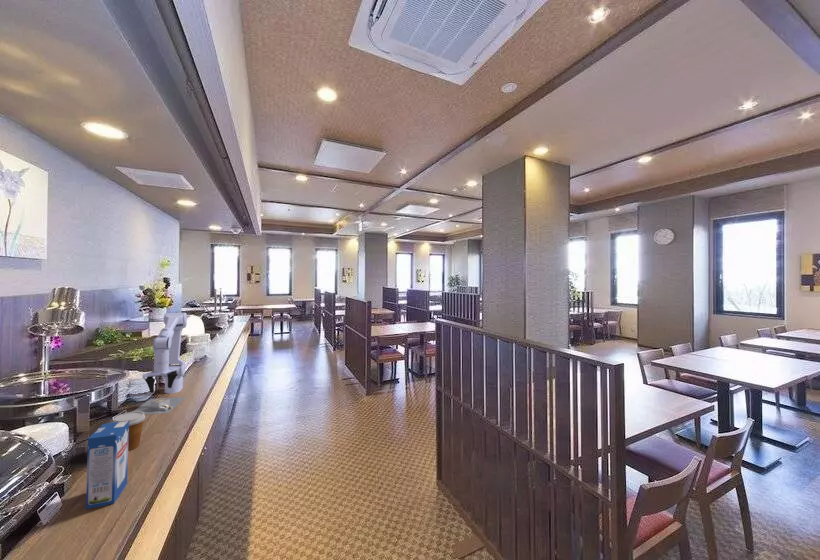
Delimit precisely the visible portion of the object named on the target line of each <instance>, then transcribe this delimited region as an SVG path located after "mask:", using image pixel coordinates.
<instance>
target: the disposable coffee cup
mask: <svg viewBox="0 0 820 560" xmlns="http://www.w3.org/2000/svg"><path fill="white" fill-rule="evenodd" d="M145 419H146V414H144V413H143V412H138V411H137V412H133V411H129V412H123V413H122V414H119V415H116V416H115V417H114V418H113V421H112V422H111V423H114V422H123V421H129V440H128V452H129V451H133V450H135V449H137V448H139V446H140V443H141V442H140V441H141V437H142V432H143V431H142V430H143V425H144V421H145Z"/></svg>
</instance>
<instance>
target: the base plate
mask: <svg viewBox="0 0 820 560" xmlns="http://www.w3.org/2000/svg"><path fill="white" fill-rule="evenodd" d="M155 399H156V398H149V399H148V400H147V401H145V402H144V403H143V404H141V405H140V406H138V407H137V408H136V409H135V410H134V411H132V412H137V411H138V412H143V413H144V415H157V414H158V415H159V414H169V413H170V412H172V410H174V409H175V408H176V407H178V405H179V404H180V403H181V402H182V401H183V400H185V399H186V396H185V397H169V399H170V406H173V409H169V406H166V408H168V411H162V410H160V411H156V410H151V401H153V400H155ZM158 401H162V400H158Z"/></svg>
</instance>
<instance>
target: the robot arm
mask: <svg viewBox="0 0 820 560" xmlns="http://www.w3.org/2000/svg"><path fill="white" fill-rule="evenodd" d="M163 324H165V326H164V327H163V328H161V330H160V331H159V334H158V335H157V337H156V338H153V341H152V349H153V354H154V361H153V363H154V364H153V365H154V366H153V371H150V372H147V373H143V374H142V379H143V380H144V381H145V383H146V384H147V387H148V391H149V393H154V391H155V381H156V379H155V378H154V377H159V376H161V377H162V378H163V379H164V393H165V394H168V395H169V394H170V395H171V394H176V393H179V392H181V390H182V389H184V377H183V376H184V375H185V372H186V365H185V364H186V362H185V361H184V360H183V359H181V358H180V354H181V343H182V334H183V333H182V332H183V329H185V328H186V327H187V325H188V314H187V313H186V312H165V313H164V315H163Z"/></svg>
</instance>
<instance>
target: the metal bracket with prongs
mask: <svg viewBox="0 0 820 560" xmlns="http://www.w3.org/2000/svg"><path fill="white" fill-rule="evenodd" d="M169 398H170V397H169ZM169 398H167V397H159V398H154V399H155V400H153V401H151V410H156V411H160V410H162V411H168V408H166V406H169V409H172V410H174V409H173V406H170V399H169ZM158 400H162V401H158Z"/></svg>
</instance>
